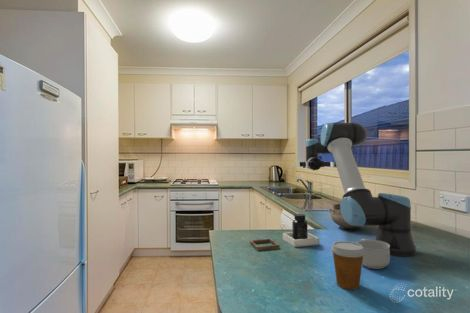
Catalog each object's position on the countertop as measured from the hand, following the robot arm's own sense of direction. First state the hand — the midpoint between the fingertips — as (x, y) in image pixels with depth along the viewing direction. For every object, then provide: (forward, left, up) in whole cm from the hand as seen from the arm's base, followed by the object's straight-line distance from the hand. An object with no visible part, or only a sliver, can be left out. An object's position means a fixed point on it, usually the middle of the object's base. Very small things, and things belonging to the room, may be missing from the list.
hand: (320, 164), depth 149 cm
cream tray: (-16, +21, -35) cm, 44 cm away
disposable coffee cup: (-59, +28, -35) cm, 74 cm away
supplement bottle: (-16, +21, -35) cm, 43 cm away
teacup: (-47, +9, -35) cm, 59 cm away
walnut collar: (-17, +39, -35) cm, 55 cm away
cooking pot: (-1, -17, -35) cm, 39 cm away
